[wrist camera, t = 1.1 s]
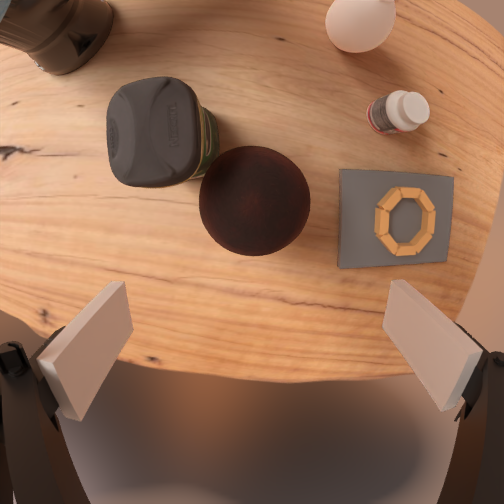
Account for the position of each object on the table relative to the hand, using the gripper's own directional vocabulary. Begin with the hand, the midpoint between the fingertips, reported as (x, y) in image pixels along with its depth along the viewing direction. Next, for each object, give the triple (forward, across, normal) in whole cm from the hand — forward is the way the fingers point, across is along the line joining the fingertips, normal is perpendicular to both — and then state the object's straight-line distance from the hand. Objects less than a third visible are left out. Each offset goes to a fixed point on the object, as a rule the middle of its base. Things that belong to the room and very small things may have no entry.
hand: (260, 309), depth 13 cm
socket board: (+27, +22, 0) cm, 35 cm away
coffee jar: (+27, -8, +10) cm, 30 cm away
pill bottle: (+27, +19, +15) cm, 36 cm away
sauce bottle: (+27, +13, +26) cm, 40 cm away
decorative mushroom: (+27, 0, +3) cm, 27 cm away
